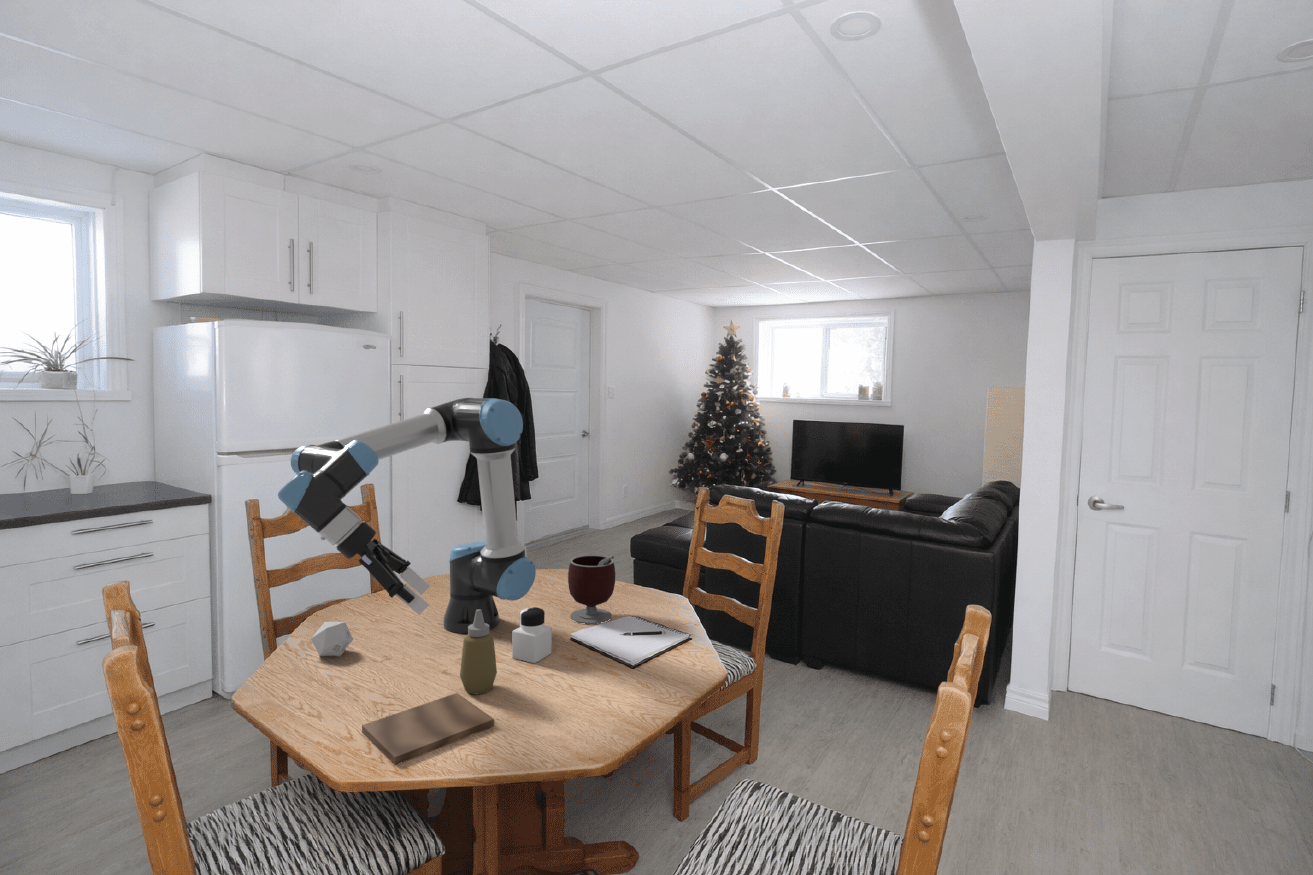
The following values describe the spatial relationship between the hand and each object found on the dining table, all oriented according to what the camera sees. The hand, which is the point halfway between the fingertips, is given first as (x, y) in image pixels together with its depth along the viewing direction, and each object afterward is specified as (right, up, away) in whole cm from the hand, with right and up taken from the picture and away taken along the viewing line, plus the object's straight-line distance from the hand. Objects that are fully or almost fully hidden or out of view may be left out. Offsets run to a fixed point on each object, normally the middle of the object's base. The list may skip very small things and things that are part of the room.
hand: (425, 599), depth 141 cm
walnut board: (+5, -22, -12) cm, 26 cm away
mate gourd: (+31, -19, +52) cm, 63 cm away
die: (-31, -19, +22) cm, 43 cm away
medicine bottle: (+18, -20, +24) cm, 36 cm away
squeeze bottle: (+10, -21, +5) cm, 24 cm away
